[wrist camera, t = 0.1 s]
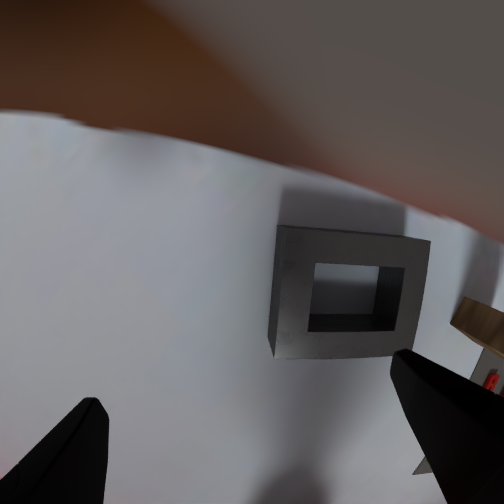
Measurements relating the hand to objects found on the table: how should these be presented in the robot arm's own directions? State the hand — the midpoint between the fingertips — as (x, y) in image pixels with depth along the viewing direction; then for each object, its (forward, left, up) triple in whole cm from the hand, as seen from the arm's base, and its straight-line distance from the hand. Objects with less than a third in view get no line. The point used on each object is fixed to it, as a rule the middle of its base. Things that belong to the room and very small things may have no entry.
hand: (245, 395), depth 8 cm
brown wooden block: (+8, -22, -15) cm, 28 cm away
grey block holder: (+4, -7, -15) cm, 17 cm away
